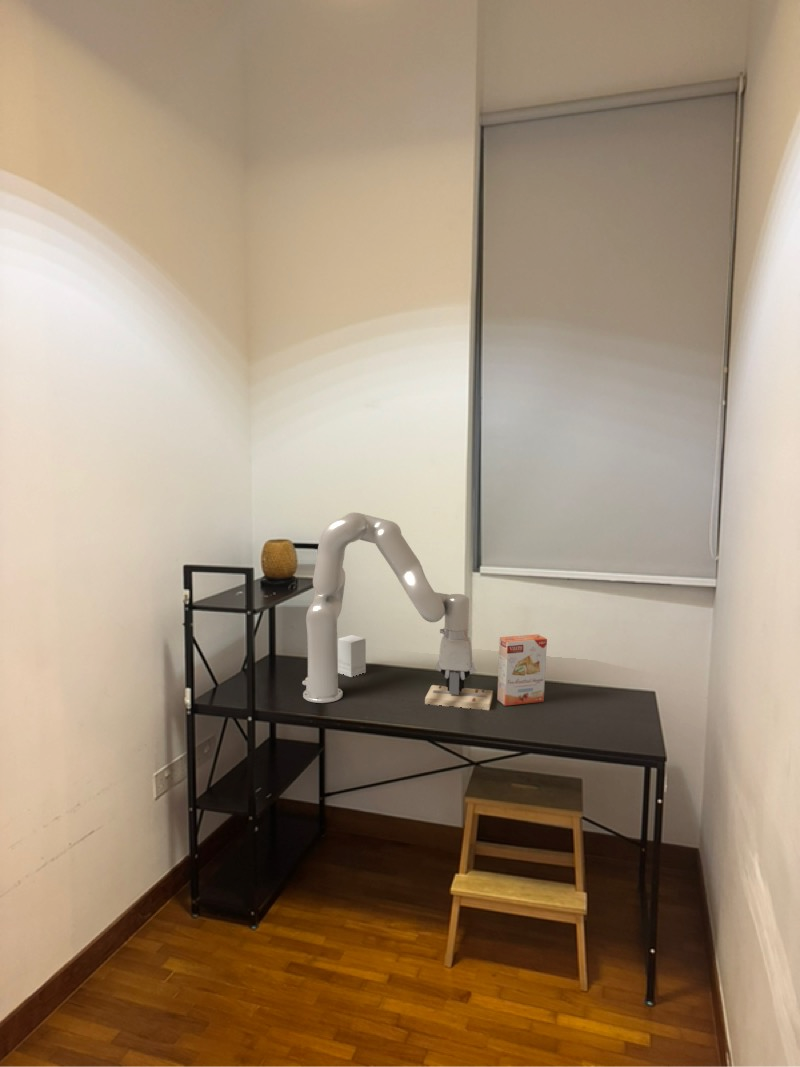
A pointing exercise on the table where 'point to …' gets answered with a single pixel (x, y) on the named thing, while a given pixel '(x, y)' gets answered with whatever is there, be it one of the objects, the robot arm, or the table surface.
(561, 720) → the table surface
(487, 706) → the board
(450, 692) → the fader tab
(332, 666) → the robot arm
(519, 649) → the cracker box
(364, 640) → the supplement box
